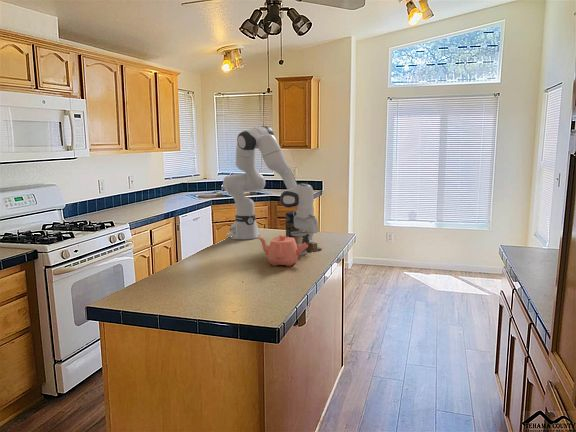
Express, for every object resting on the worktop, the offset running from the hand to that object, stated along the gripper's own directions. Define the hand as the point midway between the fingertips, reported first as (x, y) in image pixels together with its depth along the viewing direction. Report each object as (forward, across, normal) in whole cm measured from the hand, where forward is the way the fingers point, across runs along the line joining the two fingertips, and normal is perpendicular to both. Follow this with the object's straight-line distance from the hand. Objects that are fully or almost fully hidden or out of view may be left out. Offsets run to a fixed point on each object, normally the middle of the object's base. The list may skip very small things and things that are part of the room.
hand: (306, 238), depth 247 cm
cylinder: (+4, 0, 0) cm, 4 cm away
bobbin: (+5, -8, +9) cm, 13 cm away
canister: (+5, +19, -3) cm, 20 cm away
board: (+5, 0, 0) cm, 5 cm away
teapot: (+5, -21, +26) cm, 34 cm away
